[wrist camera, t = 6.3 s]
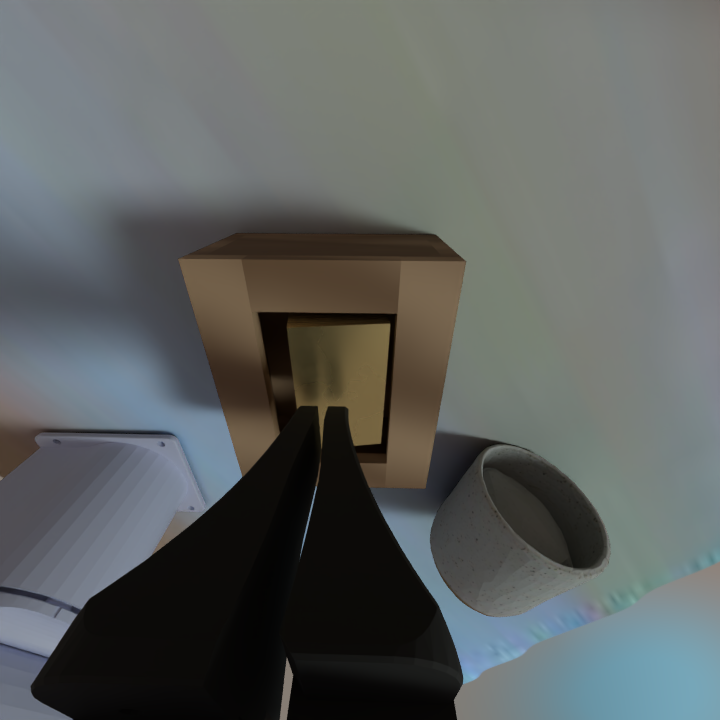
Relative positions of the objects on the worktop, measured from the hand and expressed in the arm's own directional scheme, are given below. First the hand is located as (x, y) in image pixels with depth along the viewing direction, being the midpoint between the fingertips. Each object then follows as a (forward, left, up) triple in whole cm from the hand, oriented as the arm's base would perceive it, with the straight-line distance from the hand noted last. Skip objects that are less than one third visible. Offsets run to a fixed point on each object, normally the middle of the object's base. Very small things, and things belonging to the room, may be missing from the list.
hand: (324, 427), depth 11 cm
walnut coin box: (0, 0, -7) cm, 7 cm away
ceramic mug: (+12, -12, -7) cm, 18 cm away
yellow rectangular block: (0, +1, -5) cm, 5 cm away
